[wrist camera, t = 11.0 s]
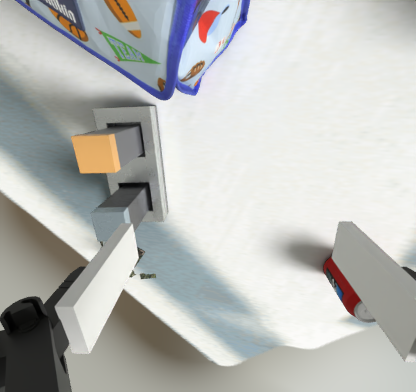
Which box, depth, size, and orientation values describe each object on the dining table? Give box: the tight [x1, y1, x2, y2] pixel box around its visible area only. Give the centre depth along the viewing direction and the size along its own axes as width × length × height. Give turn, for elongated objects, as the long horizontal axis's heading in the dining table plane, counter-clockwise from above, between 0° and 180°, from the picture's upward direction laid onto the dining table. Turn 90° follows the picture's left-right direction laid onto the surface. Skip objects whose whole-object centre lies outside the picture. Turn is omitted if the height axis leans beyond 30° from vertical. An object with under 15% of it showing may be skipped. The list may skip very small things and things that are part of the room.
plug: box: [71, 125, 145, 173], centre depth 34 cm, size 4×4×14 cm
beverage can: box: [323, 257, 376, 323], centre depth 44 cm, size 7×7×12 cm
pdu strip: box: [91, 106, 168, 241], centre depth 37 cm, size 9×24×15 cm, turn 2°
